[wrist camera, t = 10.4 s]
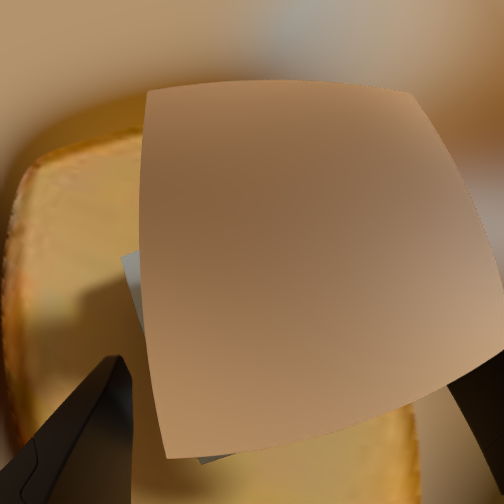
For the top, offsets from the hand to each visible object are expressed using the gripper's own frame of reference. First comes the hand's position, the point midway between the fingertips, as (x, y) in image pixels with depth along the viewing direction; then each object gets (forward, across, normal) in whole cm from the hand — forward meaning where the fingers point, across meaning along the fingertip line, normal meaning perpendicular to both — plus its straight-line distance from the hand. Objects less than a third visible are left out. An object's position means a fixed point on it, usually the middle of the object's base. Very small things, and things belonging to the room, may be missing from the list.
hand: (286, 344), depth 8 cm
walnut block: (+6, 0, +4) cm, 8 cm away
